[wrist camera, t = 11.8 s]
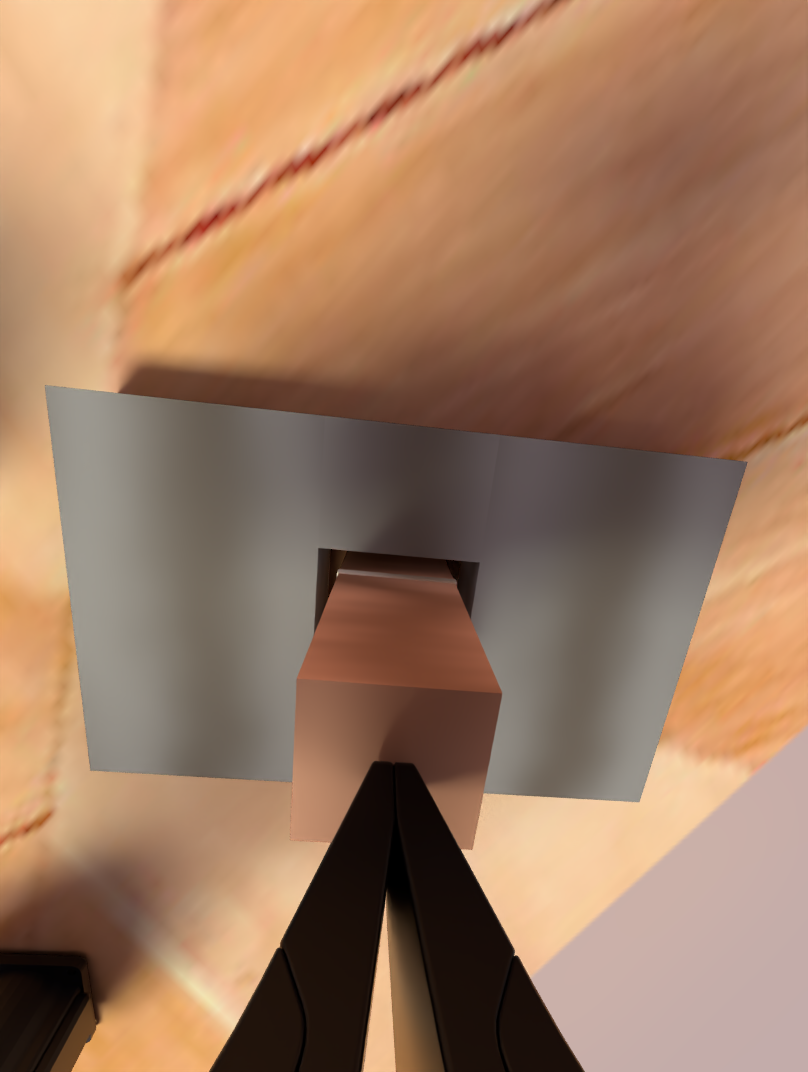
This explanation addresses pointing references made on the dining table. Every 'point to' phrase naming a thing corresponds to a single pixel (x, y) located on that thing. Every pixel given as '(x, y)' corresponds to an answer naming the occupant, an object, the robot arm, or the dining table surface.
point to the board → (376, 527)
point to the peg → (392, 694)
